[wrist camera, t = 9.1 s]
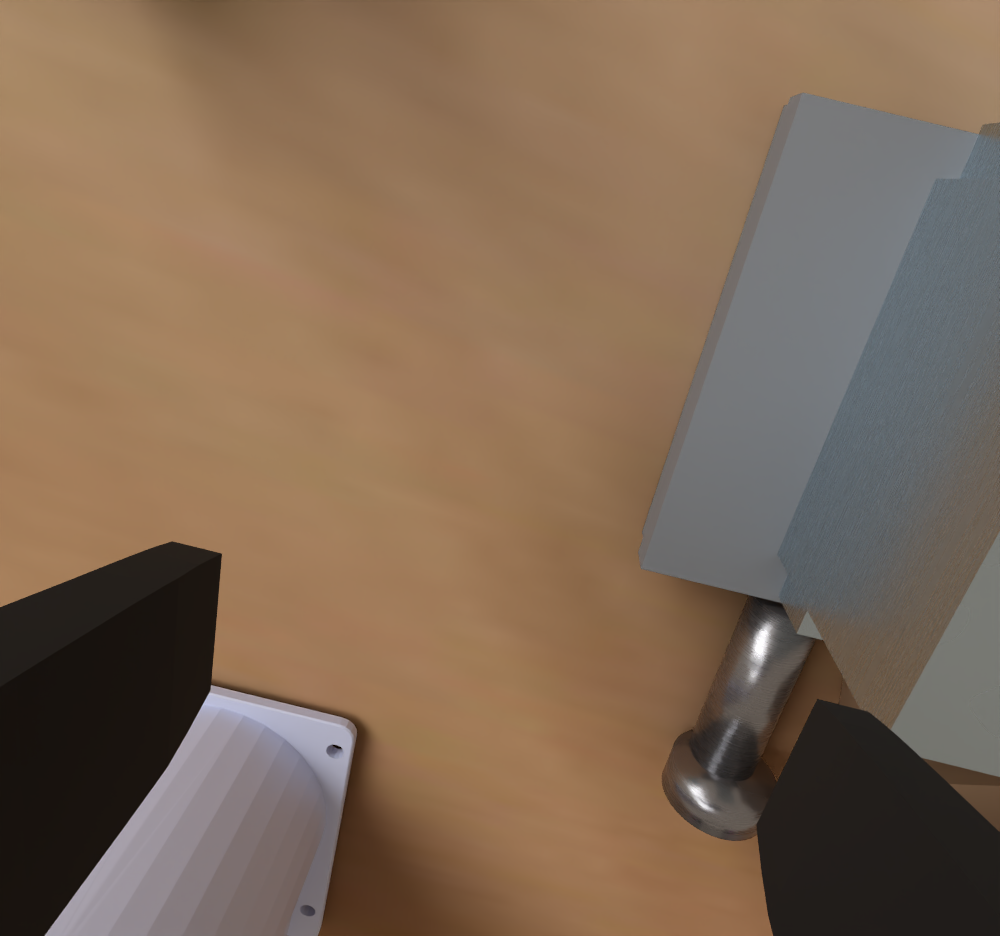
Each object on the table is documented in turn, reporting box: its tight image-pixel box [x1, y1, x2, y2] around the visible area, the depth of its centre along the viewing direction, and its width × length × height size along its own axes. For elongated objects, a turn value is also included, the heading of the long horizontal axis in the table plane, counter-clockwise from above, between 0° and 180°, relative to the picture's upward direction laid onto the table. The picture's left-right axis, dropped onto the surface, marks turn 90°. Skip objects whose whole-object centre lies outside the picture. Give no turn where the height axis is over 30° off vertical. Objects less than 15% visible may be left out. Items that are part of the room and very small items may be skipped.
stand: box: [638, 93, 979, 603], centre depth 16 cm, size 10×10×2 cm
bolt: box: [662, 595, 816, 841], centre depth 19 cm, size 6×3×3 cm, turn 168°
